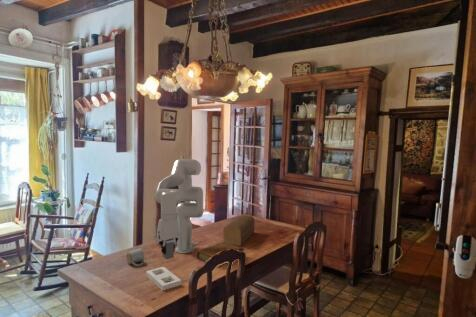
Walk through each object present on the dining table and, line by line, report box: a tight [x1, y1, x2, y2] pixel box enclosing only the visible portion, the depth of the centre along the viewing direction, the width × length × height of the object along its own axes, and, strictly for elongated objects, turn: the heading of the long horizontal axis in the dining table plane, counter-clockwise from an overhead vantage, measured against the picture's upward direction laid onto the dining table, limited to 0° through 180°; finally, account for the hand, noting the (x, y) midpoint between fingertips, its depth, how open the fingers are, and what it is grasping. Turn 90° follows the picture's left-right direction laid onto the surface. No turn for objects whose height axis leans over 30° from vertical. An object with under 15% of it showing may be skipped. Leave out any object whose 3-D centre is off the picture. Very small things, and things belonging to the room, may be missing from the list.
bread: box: [222, 214, 255, 247], centre depth 228 cm, size 14×34×14 cm, turn 161°
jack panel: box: [145, 266, 182, 291], centre depth 158 cm, size 10×20×2 cm, turn 39°
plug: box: [162, 239, 175, 260], centre depth 153 cm, size 4×4×9 cm
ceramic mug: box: [126, 247, 145, 267], centre depth 178 cm, size 11×8×8 cm
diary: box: [196, 241, 245, 267], centre depth 190 cm, size 23×19×6 cm
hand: (168, 252), depth 153 cm, fingers closed on plug, 4 cm apart
